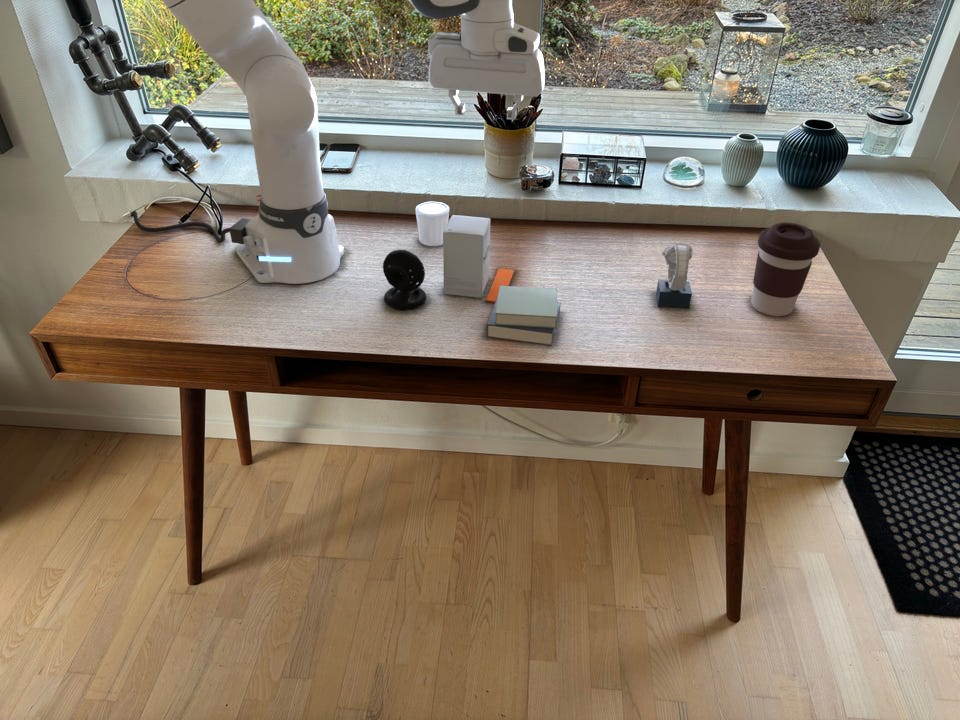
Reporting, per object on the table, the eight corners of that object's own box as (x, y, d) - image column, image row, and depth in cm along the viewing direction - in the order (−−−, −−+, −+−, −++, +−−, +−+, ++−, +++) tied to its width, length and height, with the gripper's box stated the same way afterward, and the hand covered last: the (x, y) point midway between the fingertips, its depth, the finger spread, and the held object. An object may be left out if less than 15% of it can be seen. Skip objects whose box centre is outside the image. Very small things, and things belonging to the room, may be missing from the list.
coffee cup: (810, 319, 137) (834, 242, 129) (758, 323, 136) (778, 246, 127) (784, 290, 145) (804, 216, 137) (733, 294, 144) (751, 219, 135)
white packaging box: (482, 299, 142) (483, 235, 134) (442, 294, 143) (441, 231, 135) (490, 279, 147) (491, 217, 140) (451, 274, 149) (451, 213, 141)
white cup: (456, 237, 161) (456, 206, 157) (437, 250, 156) (436, 218, 152) (429, 229, 164) (428, 198, 160) (409, 241, 159) (408, 210, 155)
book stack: (486, 337, 131) (487, 312, 129) (498, 305, 140) (499, 281, 137) (553, 346, 130) (555, 321, 127) (561, 313, 138) (563, 289, 135)
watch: (685, 290, 145) (695, 237, 138) (690, 314, 138) (701, 258, 132) (654, 288, 145) (663, 235, 139) (658, 311, 139) (667, 256, 132)
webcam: (376, 306, 139) (372, 256, 133) (395, 286, 145) (392, 237, 139) (416, 315, 137) (413, 264, 131) (433, 294, 142) (432, 245, 137)
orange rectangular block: (498, 270, 150) (498, 268, 150) (514, 271, 150) (514, 270, 150) (485, 301, 141) (485, 299, 140) (502, 303, 140) (502, 302, 140)
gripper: (422, 35, 132) (424, 117, 140) (542, 43, 128) (538, 127, 136) (432, 26, 137) (434, 106, 145) (548, 34, 133) (543, 115, 141)
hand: (485, 116), depth 140 cm, fingers open, 8 cm apart
